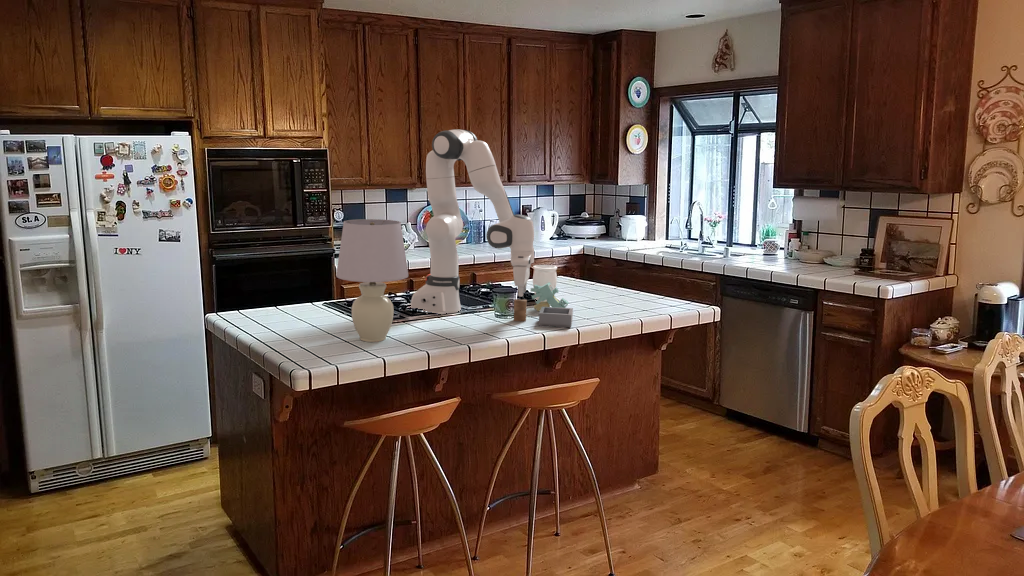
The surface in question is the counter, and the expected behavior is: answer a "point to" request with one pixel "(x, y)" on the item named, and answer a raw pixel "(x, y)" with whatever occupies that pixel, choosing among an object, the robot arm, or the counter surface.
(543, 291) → the toy
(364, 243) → the lamp
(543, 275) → the jar
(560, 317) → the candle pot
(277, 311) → the counter surface
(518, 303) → the tan wooden brick
